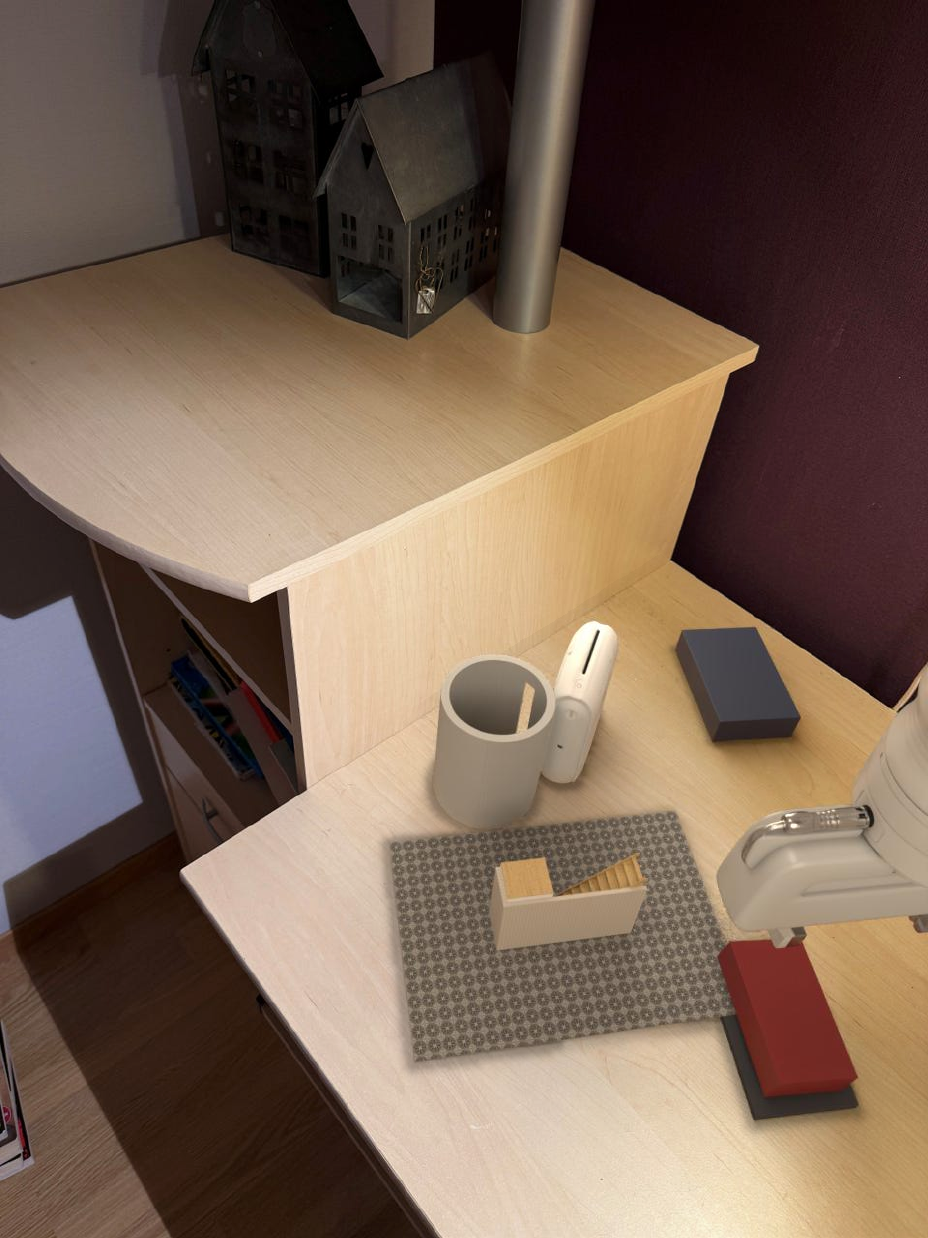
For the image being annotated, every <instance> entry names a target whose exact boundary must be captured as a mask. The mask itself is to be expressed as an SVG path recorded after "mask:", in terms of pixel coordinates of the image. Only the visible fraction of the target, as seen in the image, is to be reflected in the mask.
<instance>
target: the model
mask: <svg viewBox="0 0 928 1238" xmlns="http://www.w3.org/2000/svg"><path fill="white" fill-rule="evenodd" d="M640 855H641V853H640V852H636V853H634V854H632V855H630V856H628V857H626V858H624V859H622V860H620V861H618V862H616V863H614V864H613V865H611V866H609V867H607V868H605V869H603V870H601V871H599V872H597V873H595V874H593V875H592V876H590V877H588V878H586V879H584V880H582V881H580V882H578V883H576V884H574V885H572V886H570V887H569V888H567V889H565V890H563V891H561V892H559V893H557V894H555V895H554V889H553V885H552V881H551V877H550V873H549V869H548V865H547V861H546V857H545V856H544V857H536V858H527V859H519V860H510V861H502V862H501V863H500V864H499V866H495V867H494V874H493V881H492V888H491V895H490V902H489V909H488V913H489V918H490V923H491V928H492V934H493V939H494V944H495V949H496V950H497V951H500V950H505V949H508V950H509V949H513V948H521V947H529V946H537V945H545V944H553V943H561V942H566V941H567V942H569V941H574V940H582V939H590V938H598V937H606V936H614V935H622V934H630V933H631V932H632V931H633V928H634V926H635V923H636V920H637V918H638V915H639V913H640V910H641V907H642V905H643V902H644V900H645V897H646V894H647V892H648V887H647V885H646V884H645V885H643V883H646V882H648V881H649V878H648V877H645V878H643V874H642V871H641V868H640V865H639V862H638V859H637V857H639V856H640Z"/></svg>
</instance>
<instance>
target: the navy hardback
mask: <svg viewBox="0 0 928 1238" xmlns="http://www.w3.org/2000/svg"><path fill="white" fill-rule="evenodd" d="M674 651H675V653H676V656H677V659H678V661H679V664H680V666H681V668H682V671H683V673H684V676H685V678H686V682H687V683H688V687H689V688H690V691H691V693H692V695H693V698H694V700H695V703H696V705H697V708H698V711H699V713H700V715H701V718H702V721H703V723H704V726H705V728H706V731H707V734H708V735H709V737H710V740H711V742H713V743H714V742H730V741H731V742H732V741H744V740H762V739H763V740H764V739H780V738H792V736H793V734H794V732H795V731H796V728H797V727H798V724H799V722H800V720H801V719H802V717H801V716H802V715H800V712H799V710H798V708H797V706H796V704H795V702H794V700H793V698H792V696H791V694H790V691H789V690H788V688H787V686H786V685H785V683H784V681H783V678H782V676H781V674H780V672H779V670H778V669H777V665H776V664H775V662H774V660H773V658H772V656H771V654H770V652H769V650H768V648H767V646H766V645H765V642H764V640H763V638H762V637H761V634H760V633H759V631H758V628H757V627H756V626H745V627H744V626H743V627H719V628H697V629H696V628H695V629H681V632H680V634H679V637H678V640H677V643H676V646H675V649H674Z"/></svg>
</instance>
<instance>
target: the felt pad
mask: <svg viewBox="0 0 928 1238" xmlns="http://www.w3.org/2000/svg"><path fill="white" fill-rule="evenodd" d="M719 1019H720V1021H721V1024H722V1027H723V1030H724V1033H725V1036H726V1039H727V1042H728V1045H729V1048H730V1052H731V1055H732V1058H733V1061H734V1064H735V1067H736V1070H737V1073H738V1076H739V1079H740V1082H741V1085H742V1088H743V1092H744V1095H745V1098H746V1100H747V1101H746V1102H747V1104H748V1108H749V1109H750V1113H751V1116H752V1119H753V1121H762V1120H770V1119H779V1118H785V1117H786V1118H787V1117H793V1116H794V1117H795V1116H803V1115H809V1114H811V1115H812V1114H819V1113H825V1112H835V1111H843V1110H851V1109H856V1108H858V1107H859V1106H860V1104H859V1101H858V1099H857V1097H856V1094H855V1092H854V1089H853V1087H852V1083H850V1084H849V1085H848V1086H846V1087H845V1088H844V1089H842V1090H841V1091H831V1092H819V1093H807V1094H794V1095H782V1096H770V1097H764V1094H763V1091H762V1088H761V1085H760V1082H759V1079H758V1076H757V1073H756V1070H755V1067H754V1065H753V1062H752V1059H751V1056H750V1053H749V1050H748V1047H747V1044H746V1041H745V1038H744V1035H743V1032H742V1029H741V1026H740V1023H739V1020H738V1017H737V1014H736V1015H729V1016H723V1017H719Z"/></svg>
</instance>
